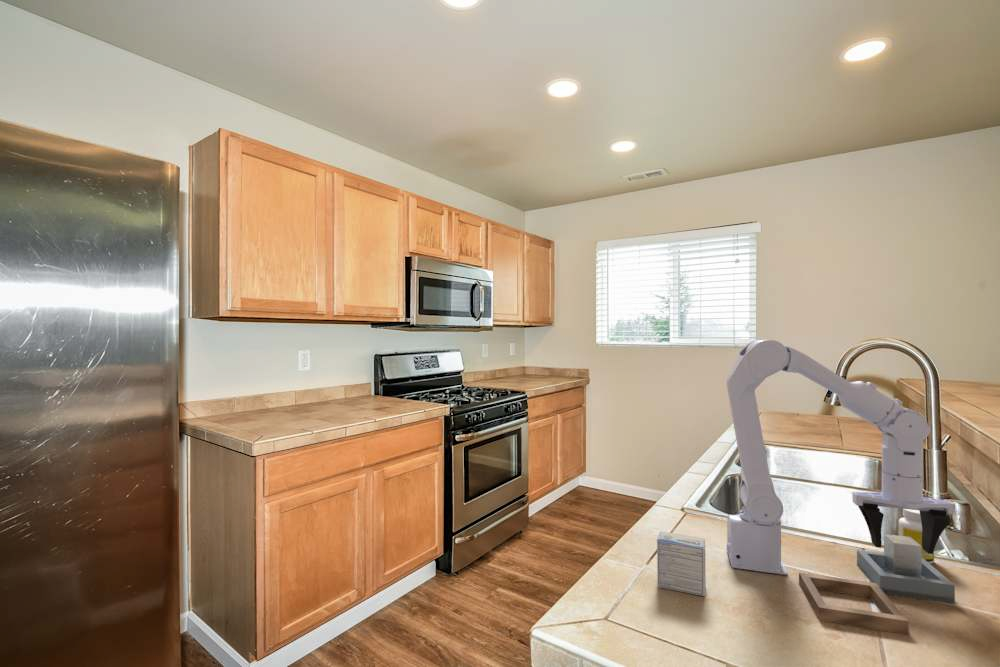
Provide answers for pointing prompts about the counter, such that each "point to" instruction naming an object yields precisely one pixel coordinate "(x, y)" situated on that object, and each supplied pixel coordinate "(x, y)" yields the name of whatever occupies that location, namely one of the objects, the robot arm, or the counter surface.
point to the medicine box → (681, 563)
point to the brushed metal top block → (902, 556)
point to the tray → (906, 579)
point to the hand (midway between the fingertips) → (901, 548)
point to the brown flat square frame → (884, 621)
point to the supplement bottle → (914, 530)
